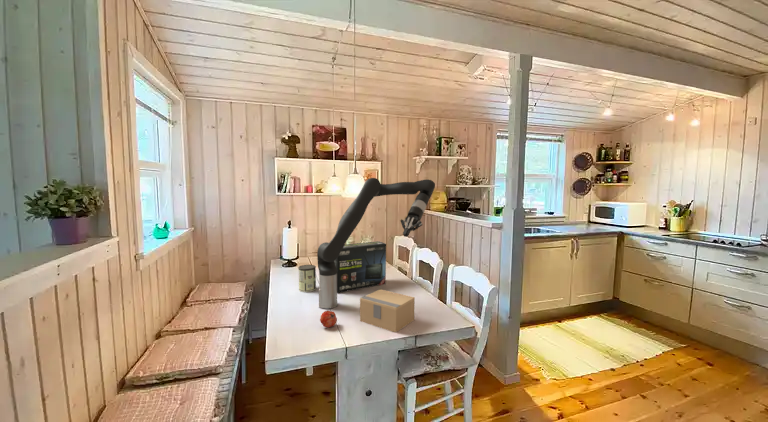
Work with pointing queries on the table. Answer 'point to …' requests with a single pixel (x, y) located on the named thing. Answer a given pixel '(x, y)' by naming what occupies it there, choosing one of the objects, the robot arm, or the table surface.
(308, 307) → the table surface
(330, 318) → the pomegranate
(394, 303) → the box lid
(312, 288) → the coffee can
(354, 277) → the router box
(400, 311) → the cardboard box
